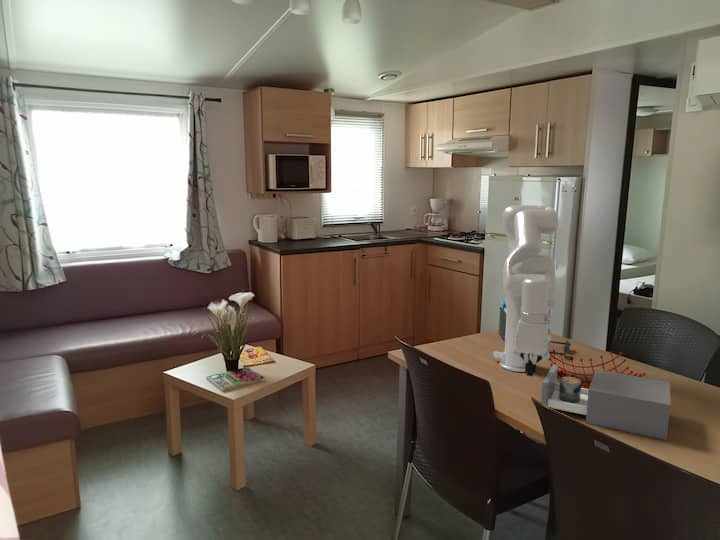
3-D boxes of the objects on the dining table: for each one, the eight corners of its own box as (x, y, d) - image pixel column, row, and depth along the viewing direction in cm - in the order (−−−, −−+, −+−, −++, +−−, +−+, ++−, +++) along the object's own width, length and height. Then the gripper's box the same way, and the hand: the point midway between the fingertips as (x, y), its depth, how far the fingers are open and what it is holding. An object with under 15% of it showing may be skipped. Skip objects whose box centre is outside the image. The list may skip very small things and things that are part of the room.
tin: (557, 400, 158) (559, 381, 157) (559, 393, 164) (561, 374, 162) (579, 404, 156) (580, 385, 154) (580, 397, 161) (582, 378, 160)
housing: (585, 422, 149) (588, 389, 148) (593, 399, 165) (595, 369, 163) (666, 440, 140) (670, 405, 138) (666, 413, 155) (669, 382, 153)
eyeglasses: (564, 361, 200) (565, 349, 199) (524, 354, 208) (525, 342, 207) (570, 350, 213) (571, 338, 212) (532, 344, 220) (533, 333, 219)
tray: (540, 409, 156) (542, 382, 154) (551, 389, 170) (553, 364, 169) (609, 423, 147) (611, 395, 145) (614, 401, 161) (616, 375, 160)
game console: (496, 332, 236) (498, 300, 234) (510, 332, 236) (512, 300, 234) (513, 352, 209) (515, 317, 206) (529, 352, 209) (531, 317, 206)
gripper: (561, 318, 161) (557, 375, 163) (512, 312, 168) (509, 367, 171) (556, 323, 154) (553, 383, 157) (506, 317, 161) (503, 374, 164)
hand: (530, 374), depth 164 cm, fingers closed
